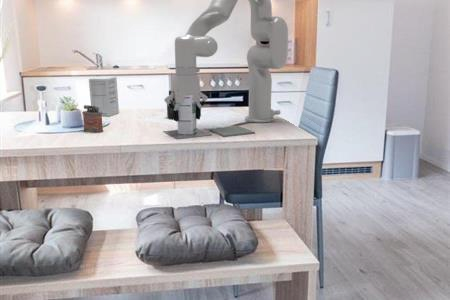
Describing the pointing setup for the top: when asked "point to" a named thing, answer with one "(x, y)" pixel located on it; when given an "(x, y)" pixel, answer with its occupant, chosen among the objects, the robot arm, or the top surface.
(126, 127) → the top surface
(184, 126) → the syrup box
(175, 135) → the card
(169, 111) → the supplement bottle
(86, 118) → the lighter
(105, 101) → the supplement box
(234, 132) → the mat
